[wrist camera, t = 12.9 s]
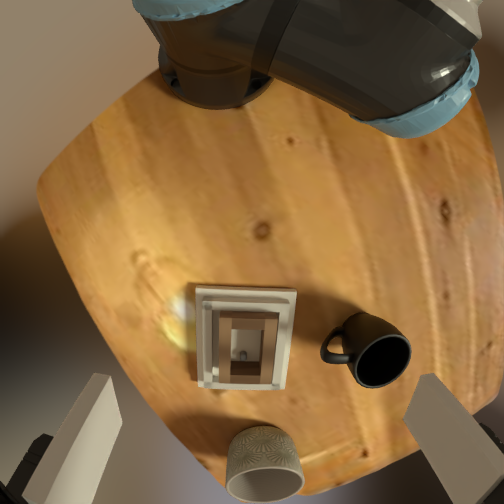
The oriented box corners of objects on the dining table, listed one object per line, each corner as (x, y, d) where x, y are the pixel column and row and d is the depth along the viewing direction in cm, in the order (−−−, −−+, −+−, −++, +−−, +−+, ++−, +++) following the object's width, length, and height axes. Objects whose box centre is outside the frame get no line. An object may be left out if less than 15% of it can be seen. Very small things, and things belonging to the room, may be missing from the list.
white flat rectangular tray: (196, 284, 40) (194, 292, 37) (295, 288, 40) (299, 296, 38) (198, 382, 43) (197, 392, 41) (283, 384, 44) (285, 395, 41)
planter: (244, 465, 49) (246, 508, 38) (213, 431, 46) (210, 478, 35) (303, 447, 48) (314, 490, 38) (280, 409, 45) (289, 458, 35)
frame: (220, 306, 39) (219, 317, 36) (274, 307, 40) (277, 319, 36) (219, 368, 41) (218, 383, 38) (268, 369, 42) (270, 384, 38)
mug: (316, 296, 41) (337, 328, 32) (389, 307, 42) (421, 336, 33) (301, 347, 43) (316, 387, 33) (372, 353, 44) (397, 388, 34)
